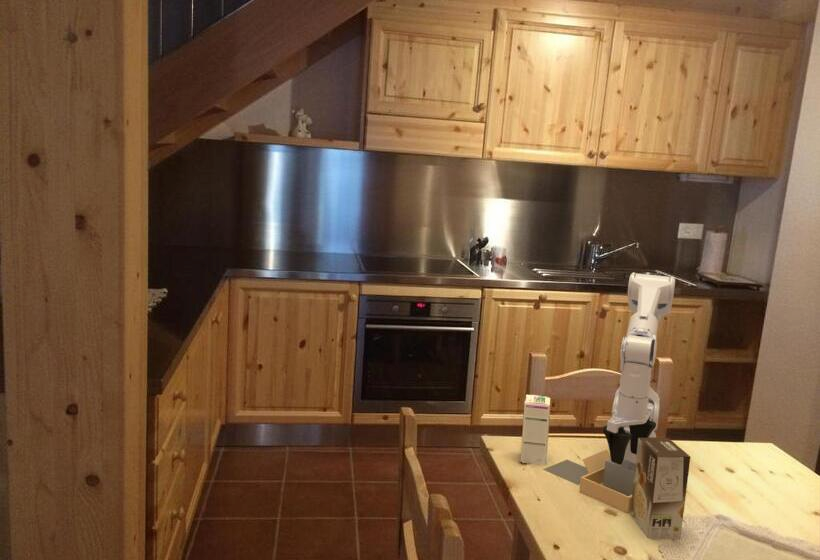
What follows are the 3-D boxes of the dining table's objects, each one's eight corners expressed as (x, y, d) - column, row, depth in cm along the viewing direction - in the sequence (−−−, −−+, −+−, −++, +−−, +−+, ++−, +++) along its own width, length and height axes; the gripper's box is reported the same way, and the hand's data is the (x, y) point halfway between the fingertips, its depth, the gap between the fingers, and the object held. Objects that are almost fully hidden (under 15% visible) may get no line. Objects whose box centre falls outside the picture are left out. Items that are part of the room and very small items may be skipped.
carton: (610, 471, 151) (613, 445, 150) (673, 497, 140) (677, 469, 139) (571, 490, 141) (574, 462, 140) (636, 518, 130) (639, 489, 129)
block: (612, 482, 144) (615, 455, 143) (643, 495, 139) (646, 466, 138) (602, 487, 142) (605, 459, 141) (633, 501, 137) (636, 471, 136)
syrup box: (546, 466, 151) (551, 404, 149) (519, 463, 153) (524, 401, 150) (546, 456, 157) (551, 396, 155) (520, 453, 158) (525, 393, 156)
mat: (566, 461, 155) (567, 459, 155) (601, 475, 149) (601, 473, 149) (542, 471, 149) (542, 469, 149) (577, 486, 143) (577, 484, 143)
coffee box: (682, 541, 123) (692, 457, 120) (648, 540, 122) (658, 456, 120) (659, 515, 132) (669, 437, 130) (627, 515, 131) (636, 436, 129)
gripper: (634, 383, 145) (627, 443, 147) (596, 395, 135) (589, 459, 137) (665, 392, 140) (657, 454, 142) (628, 405, 130) (621, 472, 132)
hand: (626, 458), depth 139 cm, fingers open, 7 cm apart
